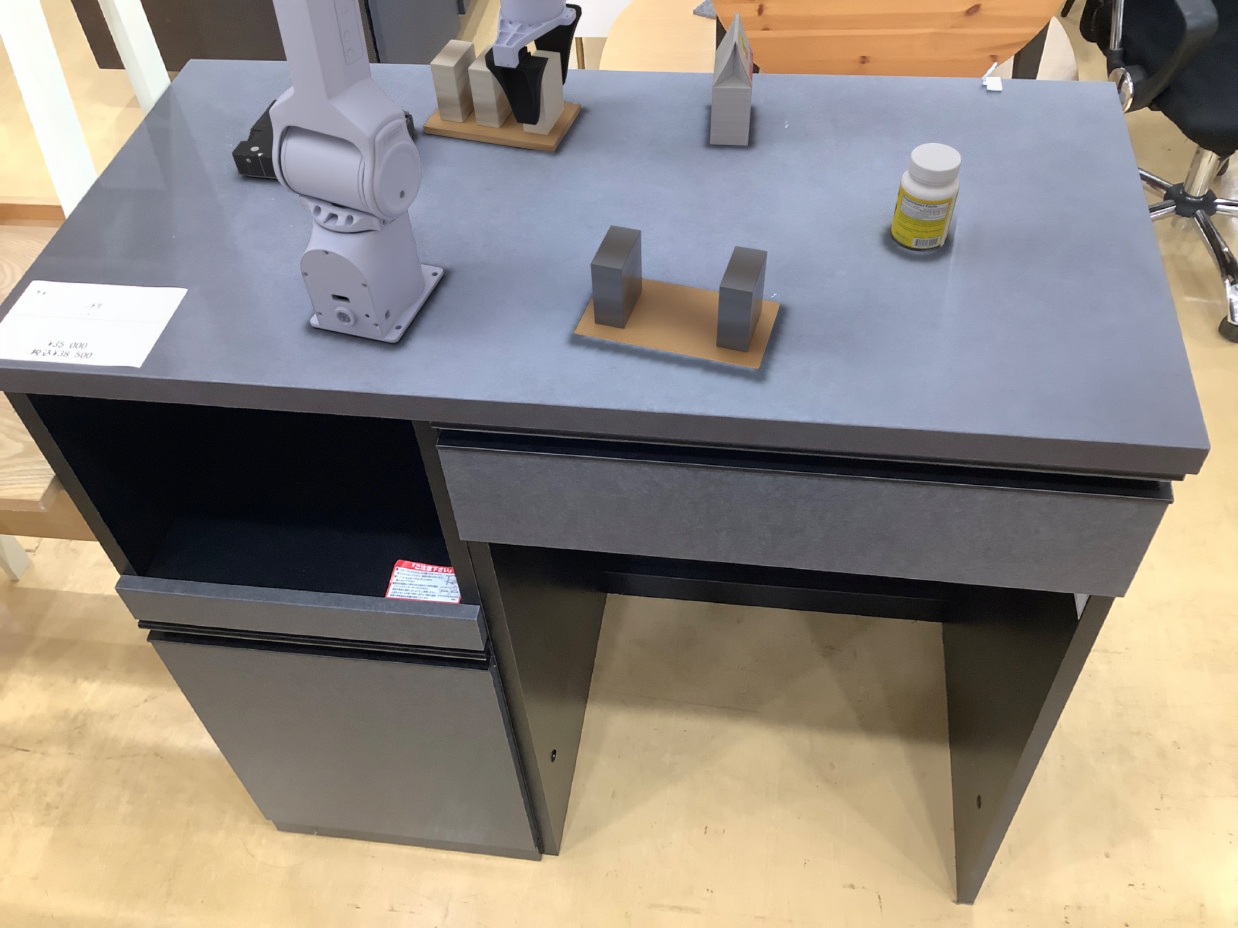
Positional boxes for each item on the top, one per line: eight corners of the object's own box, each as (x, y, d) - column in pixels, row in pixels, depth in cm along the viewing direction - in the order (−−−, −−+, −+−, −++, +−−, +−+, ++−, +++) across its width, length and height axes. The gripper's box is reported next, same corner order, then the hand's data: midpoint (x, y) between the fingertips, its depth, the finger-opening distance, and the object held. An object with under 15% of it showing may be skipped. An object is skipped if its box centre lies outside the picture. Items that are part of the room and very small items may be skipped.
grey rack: (758, 376, 75) (765, 308, 70) (574, 340, 79) (567, 272, 74) (779, 310, 80) (787, 241, 75) (605, 278, 84) (601, 211, 78)
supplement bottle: (909, 218, 88) (929, 133, 81) (955, 240, 85) (979, 154, 79) (877, 242, 86) (894, 157, 79) (923, 266, 83) (945, 180, 77)
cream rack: (553, 153, 96) (547, 87, 91) (424, 133, 100) (411, 69, 94) (580, 111, 101) (576, 47, 96) (456, 93, 104) (445, 30, 99)
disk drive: (239, 180, 95) (384, 189, 93) (229, 154, 93) (377, 163, 91) (280, 123, 102) (417, 130, 100) (272, 98, 100) (411, 105, 98)
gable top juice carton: (709, 144, 96) (714, 45, 89) (713, 108, 101) (717, 10, 93) (747, 145, 96) (755, 46, 89) (749, 109, 100) (756, 11, 93)
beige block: (547, 135, 97) (541, 78, 92) (523, 132, 98) (517, 74, 93) (564, 109, 100) (559, 52, 96) (541, 106, 101) (536, 49, 96)
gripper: (540, 0, 82) (554, 146, 92) (596, -70, 90) (603, 71, 101) (462, -9, 83) (484, 136, 94) (525, -77, 92) (538, 63, 102)
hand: (541, 102), depth 97 cm, fingers open, 7 cm apart
